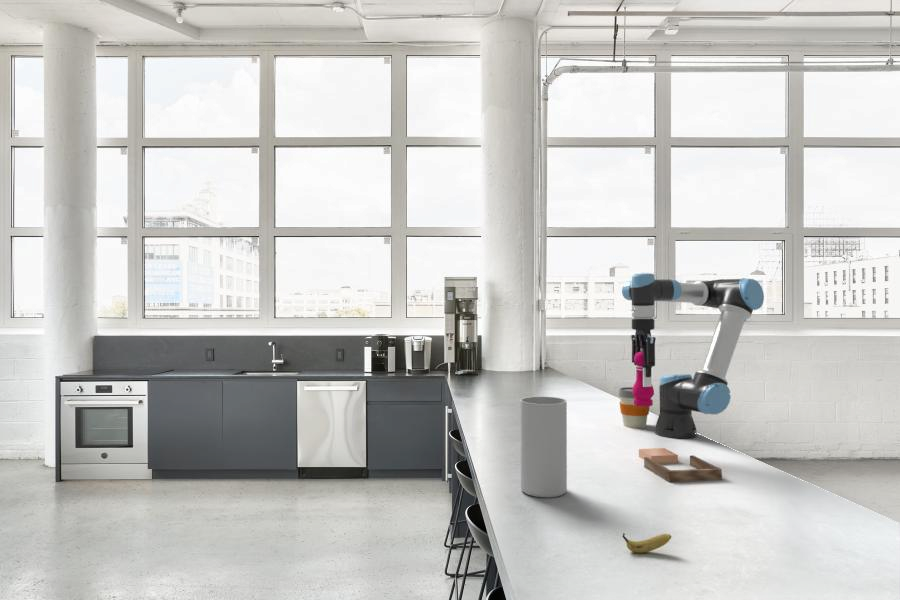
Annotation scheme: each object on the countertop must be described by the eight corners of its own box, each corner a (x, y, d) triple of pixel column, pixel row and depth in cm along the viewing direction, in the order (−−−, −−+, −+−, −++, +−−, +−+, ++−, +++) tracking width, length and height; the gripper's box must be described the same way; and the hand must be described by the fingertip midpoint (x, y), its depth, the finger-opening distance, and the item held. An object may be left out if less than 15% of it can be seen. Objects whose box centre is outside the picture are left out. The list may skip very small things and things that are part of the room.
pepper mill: (630, 405, 209) (630, 347, 209) (634, 402, 216) (634, 345, 216) (652, 407, 206) (652, 348, 206) (655, 403, 213) (655, 346, 212)
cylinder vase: (531, 500, 160) (531, 405, 160) (514, 486, 172) (513, 397, 172) (574, 496, 163) (574, 403, 163) (554, 482, 175) (554, 395, 175)
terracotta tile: (664, 456, 205) (664, 448, 204) (677, 464, 196) (677, 454, 196) (638, 458, 203) (638, 449, 203) (651, 465, 194) (651, 455, 194)
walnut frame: (693, 464, 193) (693, 455, 193) (721, 479, 177) (721, 469, 177) (644, 466, 191) (644, 457, 191) (668, 482, 175) (668, 471, 175)
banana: (669, 550, 128) (669, 531, 128) (673, 555, 126) (673, 536, 126) (620, 549, 129) (620, 531, 129) (623, 554, 126) (623, 535, 126)
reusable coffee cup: (612, 424, 255) (612, 388, 255) (635, 421, 260) (635, 386, 260) (633, 430, 244) (633, 392, 244) (657, 427, 249) (657, 390, 249)
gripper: (621, 317, 219) (621, 381, 219) (644, 319, 201) (645, 389, 201) (641, 317, 220) (641, 381, 220) (666, 318, 202) (666, 388, 202)
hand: (643, 385), depth 211 cm, fingers closed on pepper mill, 5 cm apart
